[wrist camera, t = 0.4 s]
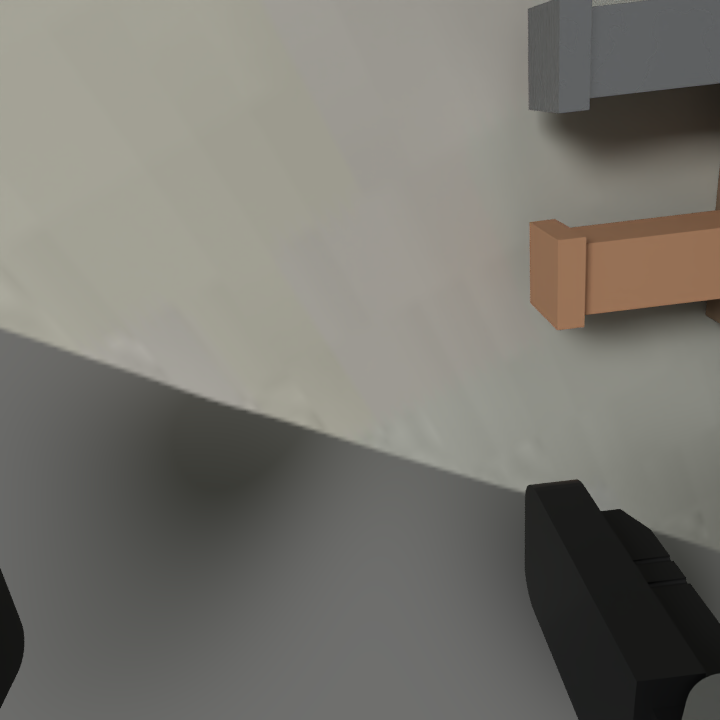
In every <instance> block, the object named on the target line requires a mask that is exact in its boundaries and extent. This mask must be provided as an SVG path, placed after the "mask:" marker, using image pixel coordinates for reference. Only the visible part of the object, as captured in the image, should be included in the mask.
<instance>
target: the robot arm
mask: <svg viewBox="0 0 720 720" xmlns="http://www.w3.org/2000/svg"><path fill="white" fill-rule="evenodd" d="M525 575H526V582H527V588H528V592H529V597H530V601H531V604H532V607H533V610H534V612H535V615H536V617H537V620H538V622H539V625H540V627H541V629H542V631H543V634H544V637H545V639H546V642H547V644H548V646H549V649H550V651H551V653H552V656H553V659H554V661H555V663H556V666H557V668H558V671H559V673H560V676H561V678H562V680H563V683H564V685H565V688H566V690H567V693H568V695H569V698H570V700H571V702H572V705H573V707H574V710H575V712H576V715H577V717H578V719H579V720H720V623H719V622H718V621H717V619H716V618H715V617H714V615H713V614H712V613H711V611H710V610H709V608H708V607H707V606H706V604H705V603H704V602H703V600H702V599H701V598H700V596H699V595H698V593H697V592H696V591H695V589H694V588H693V587H692V585H691V584H687V582H686V577H685V576H684V575H683V573H682V572H681V570H680V569H679V568H678V566H677V565H676V564H675V563H674V561H671V560H670V555H669V554H668V553H667V551H666V550H665V549H664V547H663V546H662V545H661V543H660V542H659V540H658V539H657V538H656V536H655V535H654V534H653V532H652V531H651V530H650V529H649V528H647V527H646V526H644V525H643V524H642V523H640V522H639V521H637V520H636V519H634V518H633V517H631V516H630V515H628V514H627V513H625V512H624V511H622V510H621V509H617V510H608V511H600V510H599V508H598V506H597V505H596V503H595V502H594V500H593V499H592V497H591V496H590V494H589V493H588V491H587V490H586V488H585V487H584V485H583V484H582V482H580V481H579V480H568V481H559V482H551V483H542V484H534V485H528V486H527V488H526V494H525ZM23 653H24V631H23V626H22V623H21V621H20V618H19V615H18V613H17V610H16V608H15V605H14V603H13V600H12V597H11V595H10V592H9V590H8V587H7V584H6V582H5V579H4V577H3V574H2V572H1V569H0V708H1V706H2V704H3V702H4V699H5V698H6V696H7V694H8V691H9V689H10V687H11V685H12V683H13V681H14V679H15V677H16V675H17V673H18V671H19V668H20V665H21V662H22V658H23Z"/></svg>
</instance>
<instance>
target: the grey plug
mask: <svg viewBox="0 0 720 720" xmlns="http://www.w3.org/2000/svg"><path fill="white" fill-rule="evenodd" d="M528 83H529V110H535V111H544V112H552V113H566V112H575V111H583V110H589V108H590V98H595V97H604V96H613V95H621V94H630V93H639V92H648V91H656V90H665V89H674V88H682V87H691V86H700V85H708V84H717V83H720V0H648V1H639V2H630V3H621V4H612V5H604V6H595V7H592V0H551V1H549V2H546V3H543V4H540V5H537V6H534V7H532V8H529V9H528Z"/></svg>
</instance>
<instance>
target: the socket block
mask: <svg viewBox="0 0 720 720" xmlns="http://www.w3.org/2000/svg"><path fill="white" fill-rule="evenodd" d="M716 210H720V170H719V180H718V190H717V201H716ZM706 316H708V317H710V318H711V319H713V320H715V321H717V322H718V323H720V299H713V300H707V305H706Z"/></svg>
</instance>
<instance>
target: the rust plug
mask: <svg viewBox="0 0 720 720" xmlns="http://www.w3.org/2000/svg"><path fill="white" fill-rule="evenodd" d="M713 299H720V210H716V211H708V212H699V213H691V214H682V215H674V216H666V217H657V218H649V219H640V220H632V221H623V222H615V223H607V224H598V225H590V226H581V227H573V228H570V227H568V226H566V225H564V224H563V223H561V222H559V221H557V220H555V219H552V220H544V221H535V222H530V303H531V304H532V305H533V306H534V307H535V308H536V309H537V310H538V311H539V312H540V313H541V314H542V315H543V316H544V317H545V318H546V319H547V320H548V321H549V322H550V323H551V324H552V325H553V326H554V327H555V328H556V329H557V330H563V329H571V328H579V327H584V319H585V315H589V314H597V313H605V312H614V311H622V310H630V309H638V308H647V307H655V306H663V305H671V304H680V303H688V302H696V301H704V300H713Z"/></svg>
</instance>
